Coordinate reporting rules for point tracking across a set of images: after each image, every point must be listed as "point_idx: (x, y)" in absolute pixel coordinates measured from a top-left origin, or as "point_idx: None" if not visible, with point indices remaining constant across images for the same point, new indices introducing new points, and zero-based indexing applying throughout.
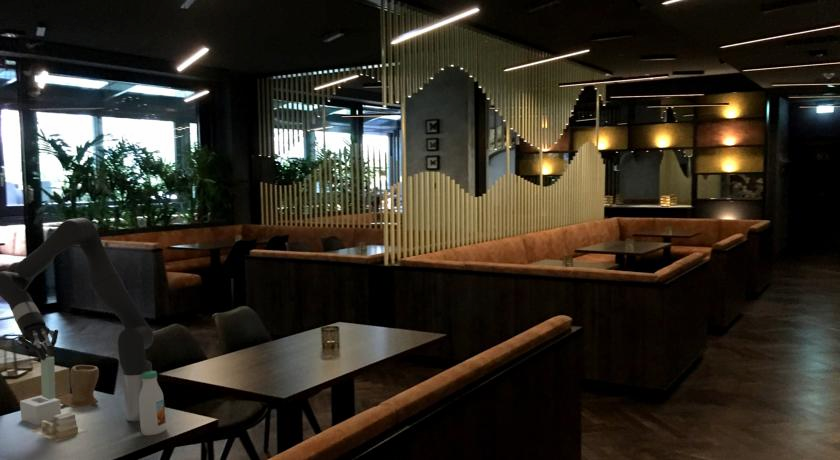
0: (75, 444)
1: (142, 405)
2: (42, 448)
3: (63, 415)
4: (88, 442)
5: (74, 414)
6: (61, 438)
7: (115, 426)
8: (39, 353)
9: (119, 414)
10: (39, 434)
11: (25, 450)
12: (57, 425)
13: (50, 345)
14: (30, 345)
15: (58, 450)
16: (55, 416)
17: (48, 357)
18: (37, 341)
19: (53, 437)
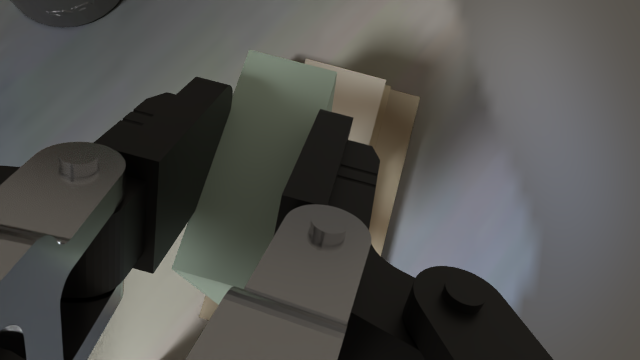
0: (378, 38)
1: None
2: (456, 141)
3: (338, 106)
4: (345, 2)
5: (308, 59)
6: (388, 99)
7: (158, 33)
8: (374, 185)
9: (2, 141)
10: (380, 254)
11: (498, 197)
12: (383, 113)
13: (99, 144)
14: (507, 332)
15: (450, 54)
16: (364, 137)
17: (284, 115)
18: (294, 304)
19: (389, 148)
